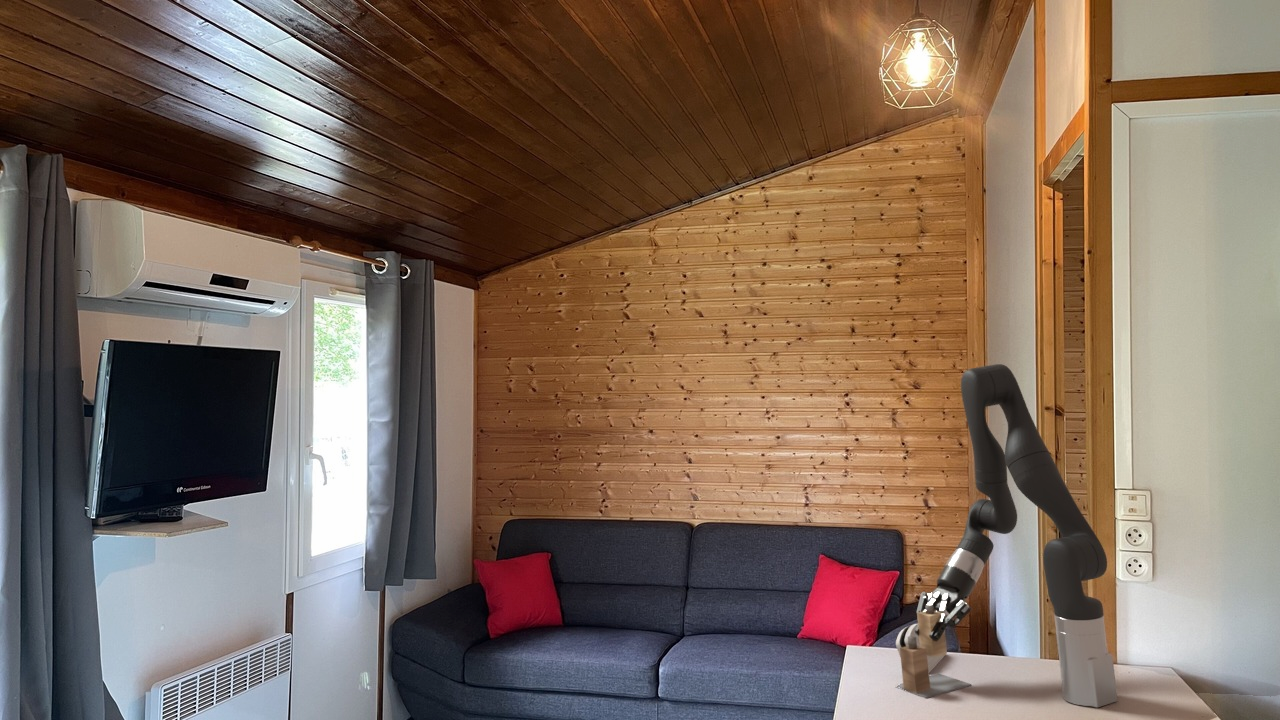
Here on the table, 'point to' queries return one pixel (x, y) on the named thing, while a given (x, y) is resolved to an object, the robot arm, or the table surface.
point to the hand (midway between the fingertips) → (925, 636)
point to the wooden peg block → (925, 627)
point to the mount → (923, 673)
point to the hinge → (903, 642)
